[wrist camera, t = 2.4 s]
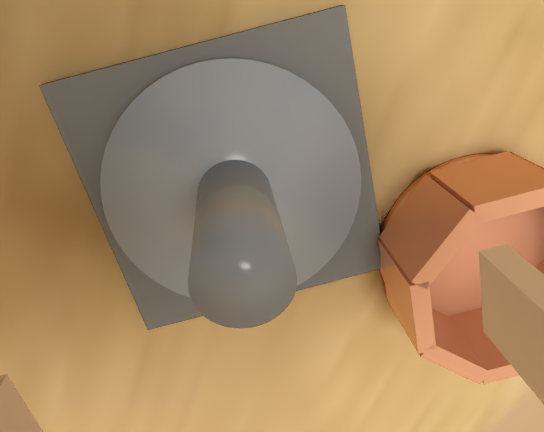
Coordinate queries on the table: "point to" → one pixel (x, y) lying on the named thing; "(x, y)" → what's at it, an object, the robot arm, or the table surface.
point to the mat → (247, 44)
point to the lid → (231, 185)
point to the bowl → (459, 254)
